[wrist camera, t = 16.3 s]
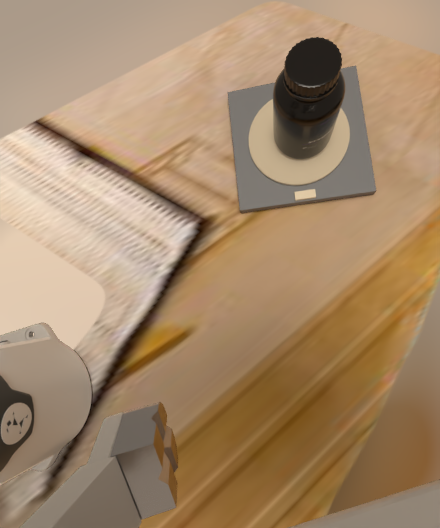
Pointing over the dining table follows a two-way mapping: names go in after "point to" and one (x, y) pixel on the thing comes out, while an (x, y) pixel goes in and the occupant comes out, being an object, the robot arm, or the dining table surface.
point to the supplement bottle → (308, 98)
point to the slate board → (298, 170)
